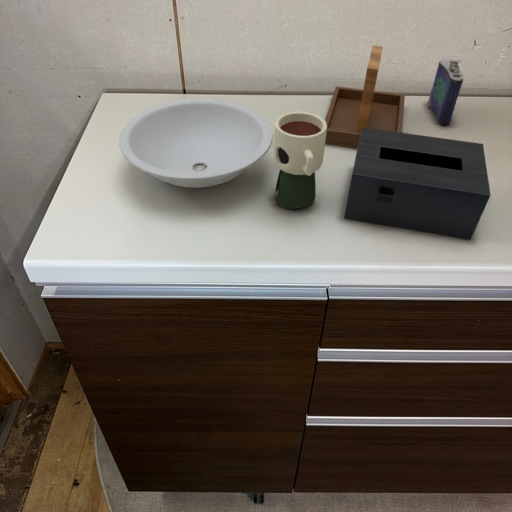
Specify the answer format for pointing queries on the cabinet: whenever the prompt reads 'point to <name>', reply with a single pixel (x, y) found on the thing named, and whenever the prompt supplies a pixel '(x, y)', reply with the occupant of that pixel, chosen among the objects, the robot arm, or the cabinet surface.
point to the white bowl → (196, 141)
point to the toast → (369, 87)
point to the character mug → (298, 157)
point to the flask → (445, 91)
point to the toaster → (418, 183)
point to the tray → (347, 112)
